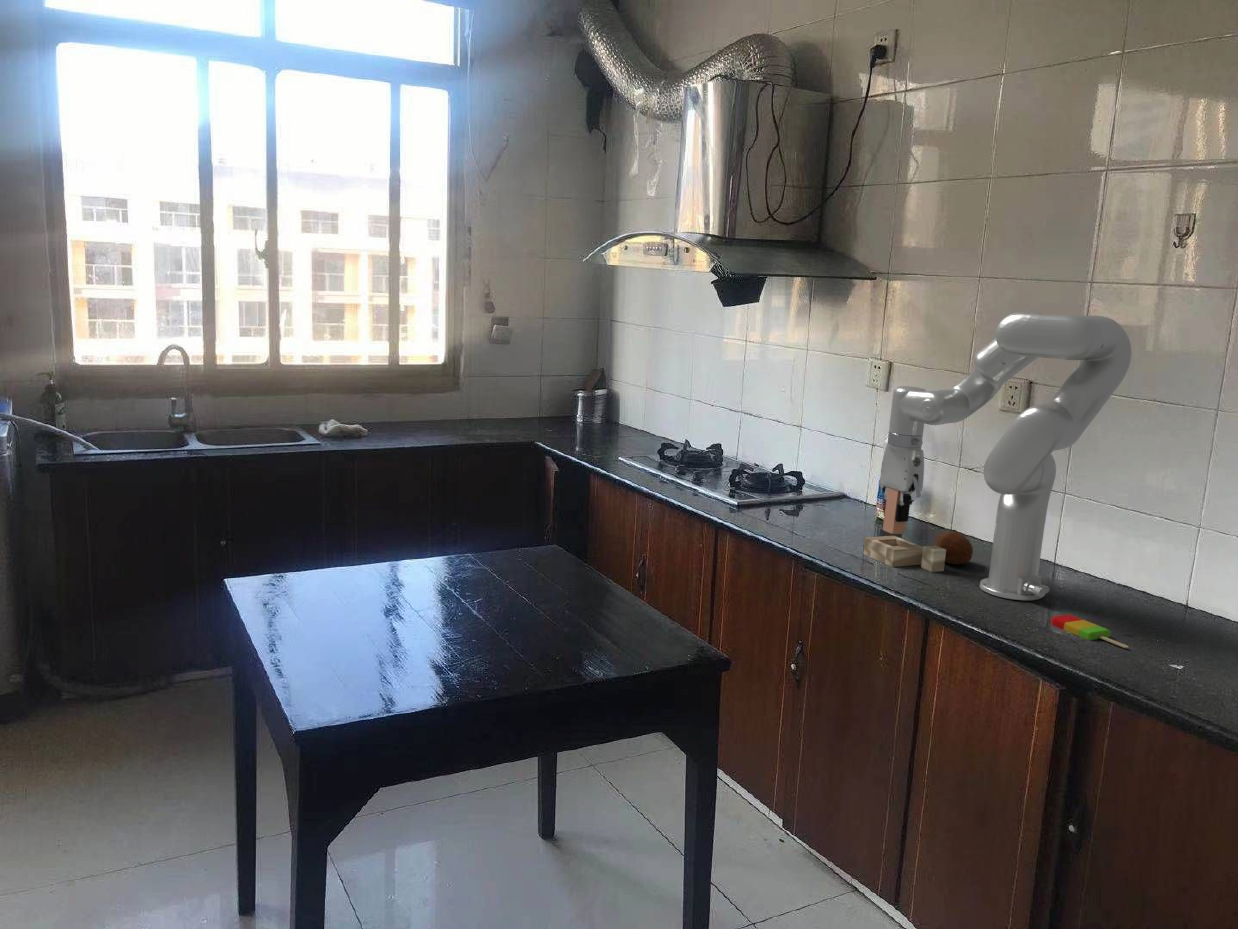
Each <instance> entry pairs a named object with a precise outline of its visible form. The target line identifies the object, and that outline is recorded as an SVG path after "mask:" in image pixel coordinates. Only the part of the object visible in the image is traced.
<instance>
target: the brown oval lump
mask: <svg viewBox="0 0 1238 929" xmlns="http://www.w3.org/2000/svg"><path fill="white" fill-rule="evenodd" d="M935 545H936V546H938V547H941V548H943V549H946V556H945V562H946V563H947V564H950V565H962V564H967V563H969V561H971V560H972V557H973V553H974V547H973V546H972V543H971V541H970V540H969V539H968V538H967V537H966V536H965V534H962V533H961V532H958V531H954V530H953V531H949V532H941V533H940V534H938V536H937V537H936V538H935V542H934V546H935Z"/></svg>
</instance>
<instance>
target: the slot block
mask: <svg viewBox="0 0 1238 929" xmlns="http://www.w3.org/2000/svg"><path fill="white" fill-rule="evenodd" d="M922 553H923V546H921V545H919V544H917V543H914V542H911V541H908V540H906V539H903V538H901V537H898V536H896V535H885V536H871V537H869V536H868V537H865V538H864V545H863V555H865V556H867V557H869V558H871V559H873V560H876V561H878V562H881V563H883V564H884V565H887V566H890V567H892V568H894V567H904V566H905V567H906V566H908V567H909V566H918V565H921V562H922Z"/></svg>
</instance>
